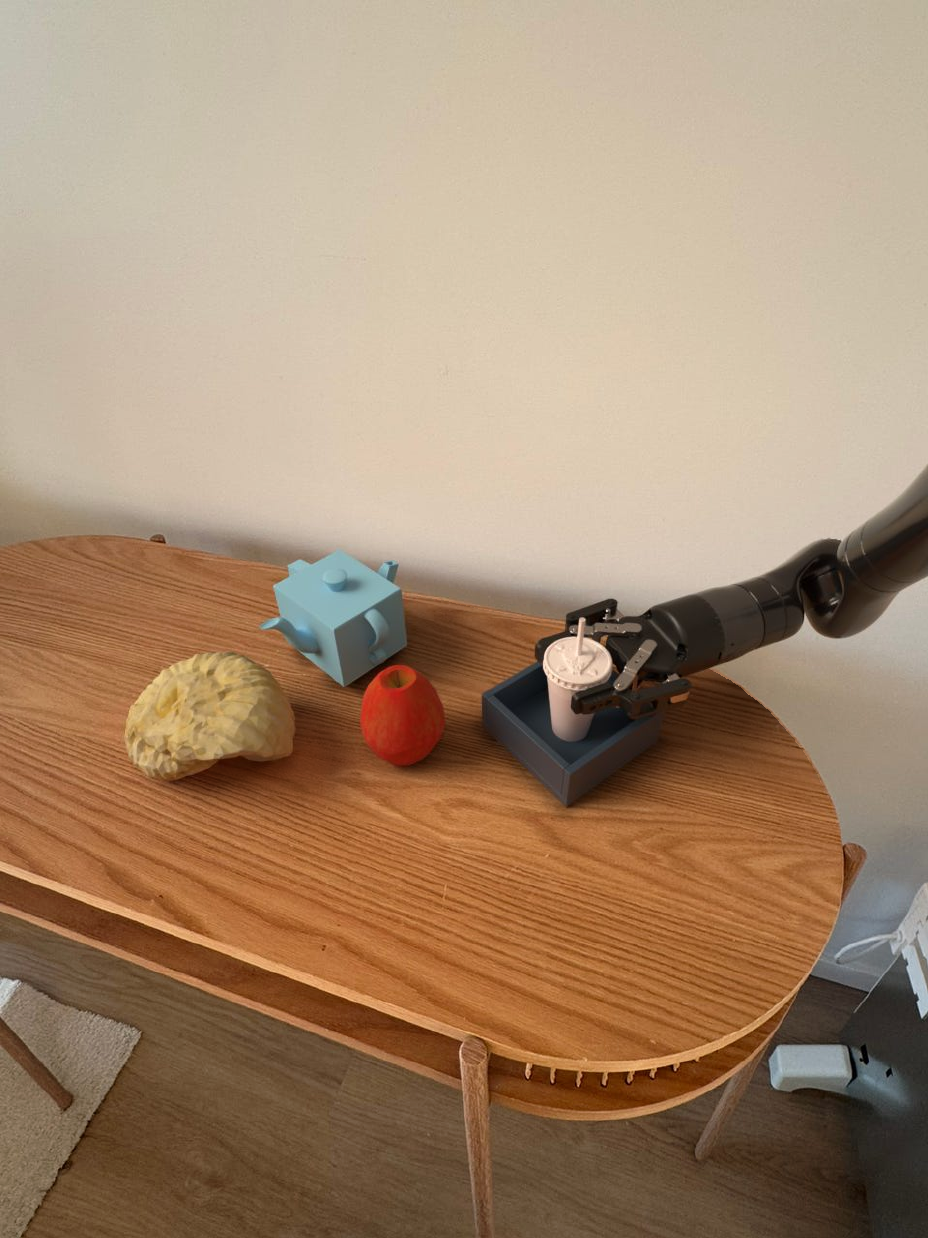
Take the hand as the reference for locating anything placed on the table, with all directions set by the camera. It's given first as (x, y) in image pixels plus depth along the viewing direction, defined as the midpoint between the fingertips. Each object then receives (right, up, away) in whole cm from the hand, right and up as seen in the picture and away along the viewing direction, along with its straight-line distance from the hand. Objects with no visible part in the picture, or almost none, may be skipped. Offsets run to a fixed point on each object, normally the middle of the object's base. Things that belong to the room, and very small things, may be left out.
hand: (554, 678), depth 68 cm
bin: (+2, -6, +7) cm, 9 cm away
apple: (-14, -8, +6) cm, 17 cm away
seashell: (-33, -8, +6) cm, 34 cm away
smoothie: (+2, -6, +6) cm, 9 cm away
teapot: (-23, +1, +17) cm, 28 cm away
